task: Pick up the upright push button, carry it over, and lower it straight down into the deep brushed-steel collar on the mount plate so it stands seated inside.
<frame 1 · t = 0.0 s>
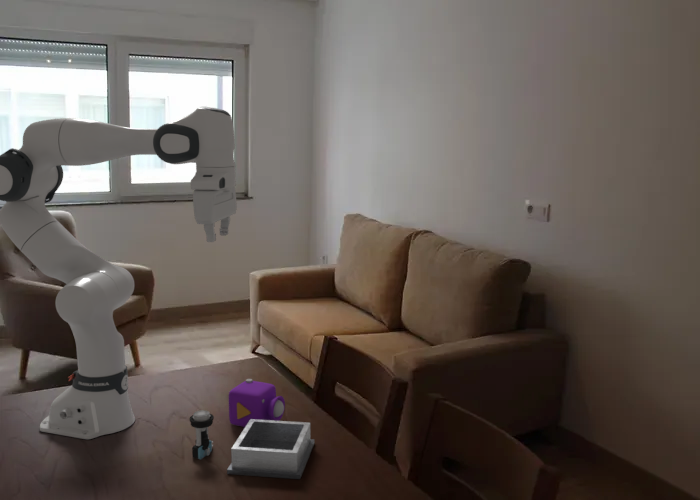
hand: (217, 238, 162), 48 cm above the table, tool pointing down, fingers open, 8 cm apart
mount plate: (272, 457, 157), on the table
push button: (204, 454, 159), on the table
toy camera: (258, 423, 175), on the table
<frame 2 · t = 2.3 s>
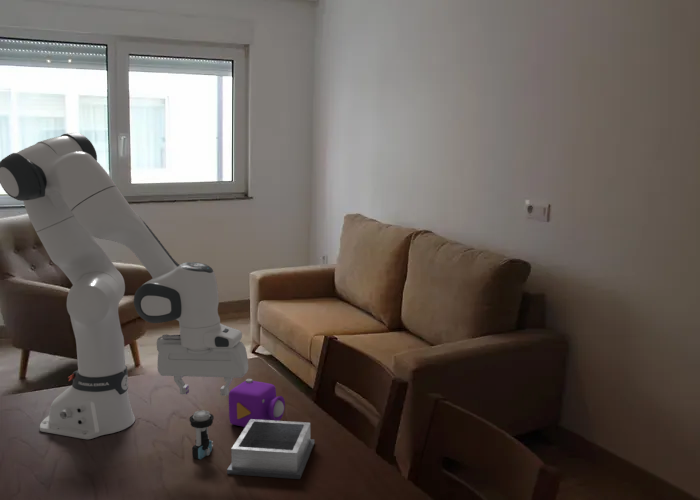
hand: (204, 394, 156), 14 cm above the table, tool pointing down, fingers open, 8 cm apart
nothing on the table moved.
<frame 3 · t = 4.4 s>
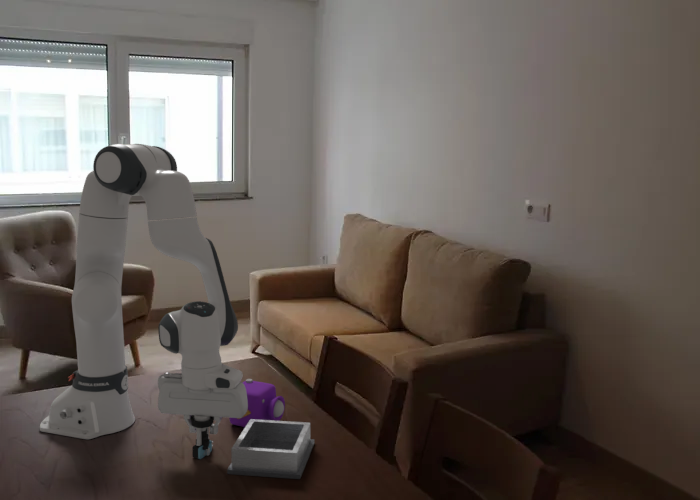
hand: (203, 432, 158), 5 cm above the table, tool pointing down, fingers closed on push button, 3 cm apart
push button: (204, 454, 159), on the table, touching gripper
everything else where it was.
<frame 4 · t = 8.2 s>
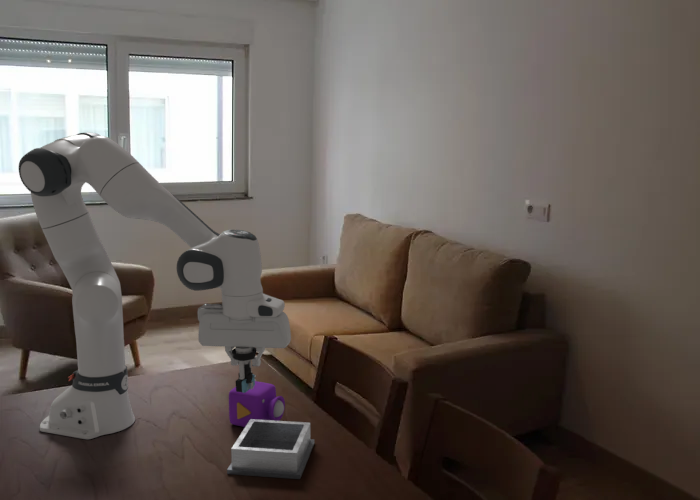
hand: (245, 365, 153), 22 cm above the table, tool pointing down, fingers closed on push button, 3 cm apart
push button: (248, 388, 154), point 16 cm above the table, touching gripper
everything else where it was.
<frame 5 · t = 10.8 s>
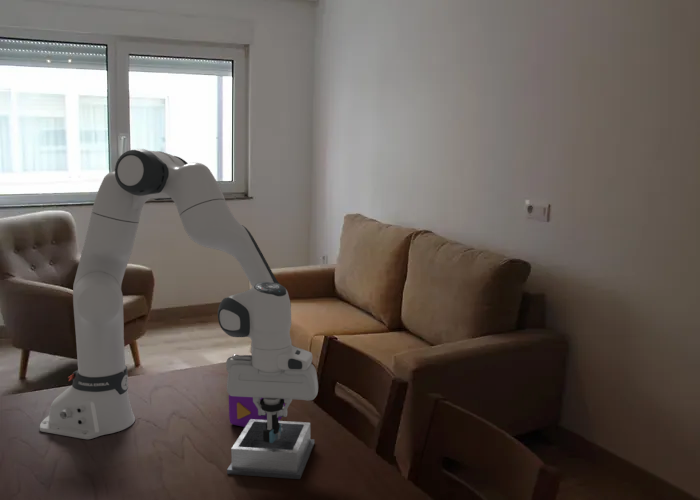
hand: (273, 415, 155), 10 cm above the table, tool pointing down, fingers closed on push button, 3 cm apart
push button: (274, 437, 156), point 5 cm above the table, touching gripper
everything else where it was.
when the fingers open (8 cm above the table, at t = 12.5 s): push button drops 1 cm, resting on mount plate.
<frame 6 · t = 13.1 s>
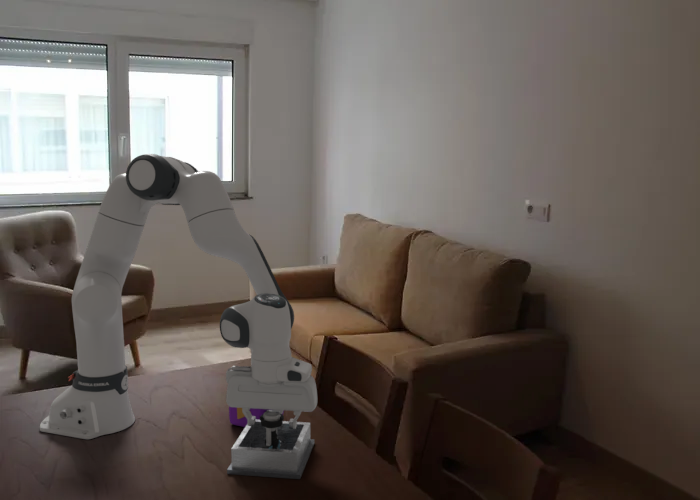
hand: (272, 426, 155), 8 cm above the table, tool pointing down, fingers open, 8 cm apart
push button: (273, 454, 157), point 1 cm above the table, touching mount plate
everything else where it was.
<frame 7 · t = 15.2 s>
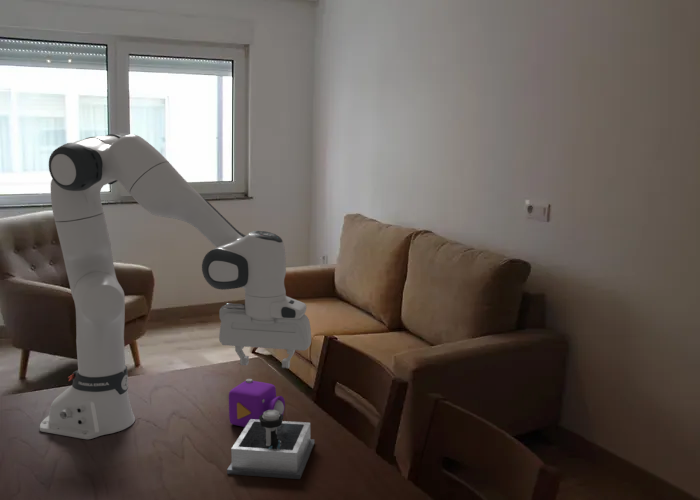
hand: (265, 366, 154), 21 cm above the table, tool pointing down, fingers open, 8 cm apart
nothing on the table moved.
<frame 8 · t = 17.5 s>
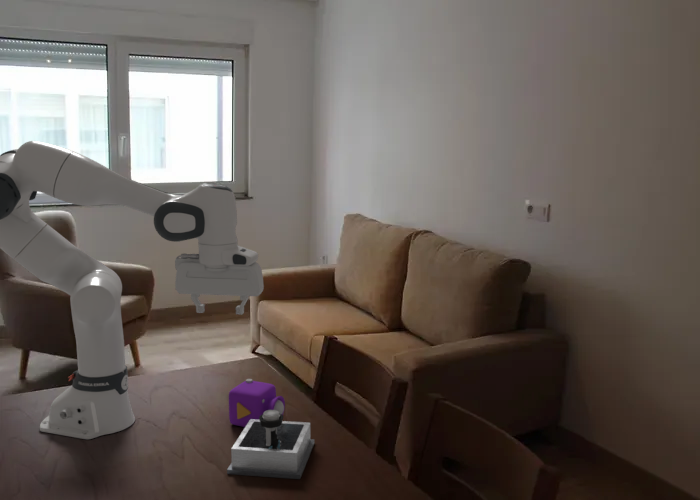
hand: (220, 313, 161), 31 cm above the table, tool pointing down, fingers open, 8 cm apart
nothing on the table moved.
at the end: push button inside the target area on the mount plate (0.2 cm from its centre), point 0.8 cm above the mount plate's base; push button tilted 0°; the gripper is holding nothing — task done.
